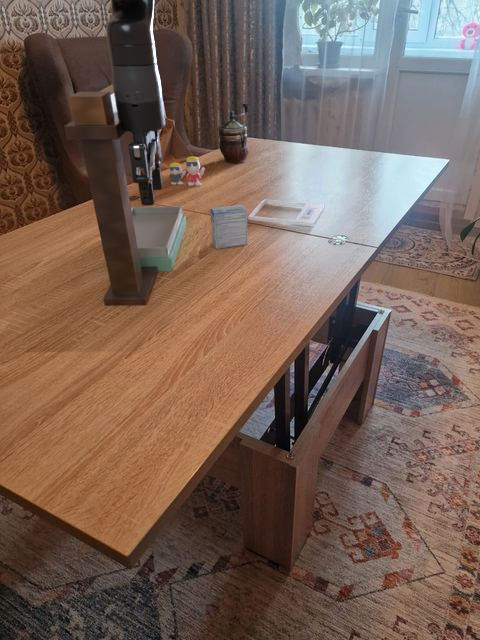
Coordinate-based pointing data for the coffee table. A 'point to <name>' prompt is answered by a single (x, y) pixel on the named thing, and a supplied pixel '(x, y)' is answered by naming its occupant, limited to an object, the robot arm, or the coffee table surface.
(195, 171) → the toy figures
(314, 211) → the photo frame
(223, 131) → the coffee grinder
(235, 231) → the medicine box
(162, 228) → the open plastic tray
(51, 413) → the coffee table surface
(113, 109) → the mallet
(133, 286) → the tall wooden post
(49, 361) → the coffee table surface
